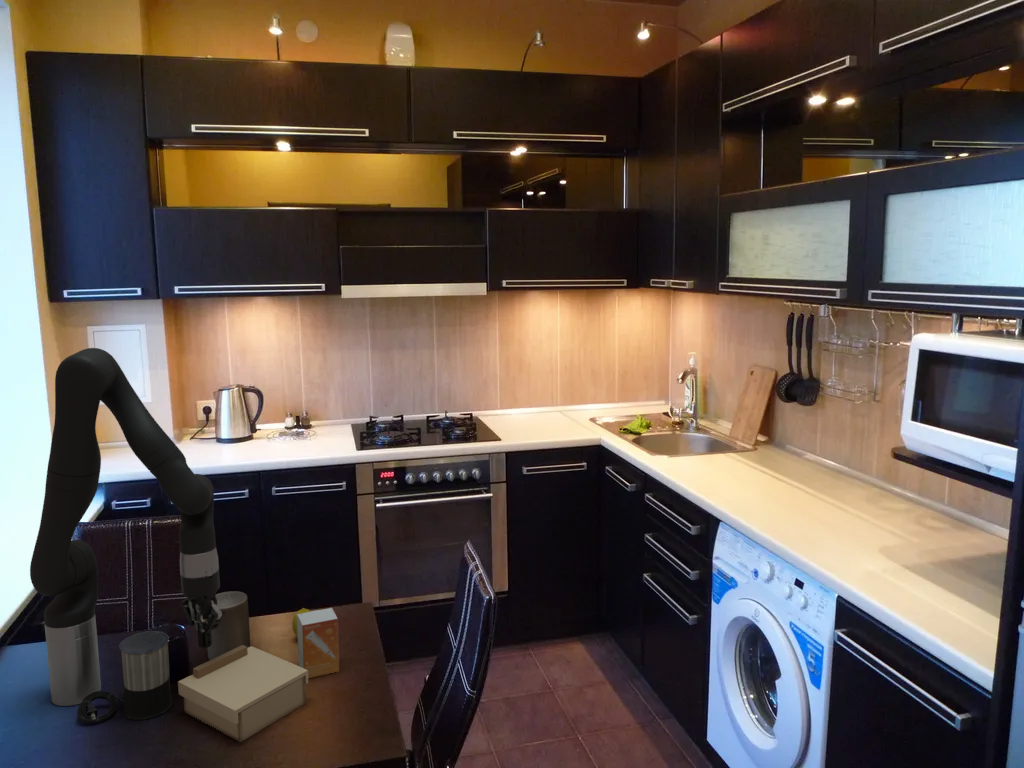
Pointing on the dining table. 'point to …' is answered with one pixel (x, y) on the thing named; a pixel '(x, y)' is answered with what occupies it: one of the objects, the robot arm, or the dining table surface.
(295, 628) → the lemon
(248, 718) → the tray
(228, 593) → the pillar candle
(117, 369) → the robot arm
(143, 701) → the milk frother
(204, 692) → the lid
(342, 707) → the dining table surface
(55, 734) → the dining table surface
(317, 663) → the small box
